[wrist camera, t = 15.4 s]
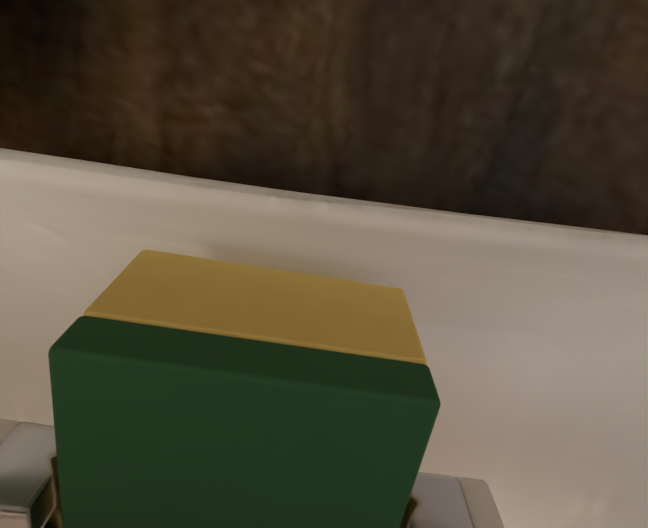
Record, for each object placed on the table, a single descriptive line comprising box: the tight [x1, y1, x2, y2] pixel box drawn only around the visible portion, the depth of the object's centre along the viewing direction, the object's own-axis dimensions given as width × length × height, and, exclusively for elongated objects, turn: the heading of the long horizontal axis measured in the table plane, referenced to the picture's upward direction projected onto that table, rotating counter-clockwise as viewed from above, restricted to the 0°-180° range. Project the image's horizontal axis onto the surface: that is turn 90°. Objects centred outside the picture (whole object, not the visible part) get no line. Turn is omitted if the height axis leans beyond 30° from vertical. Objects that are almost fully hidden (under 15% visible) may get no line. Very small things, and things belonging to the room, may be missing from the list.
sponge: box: [48, 250, 441, 528], centre depth 8 cm, size 7×4×3 cm, turn 171°
